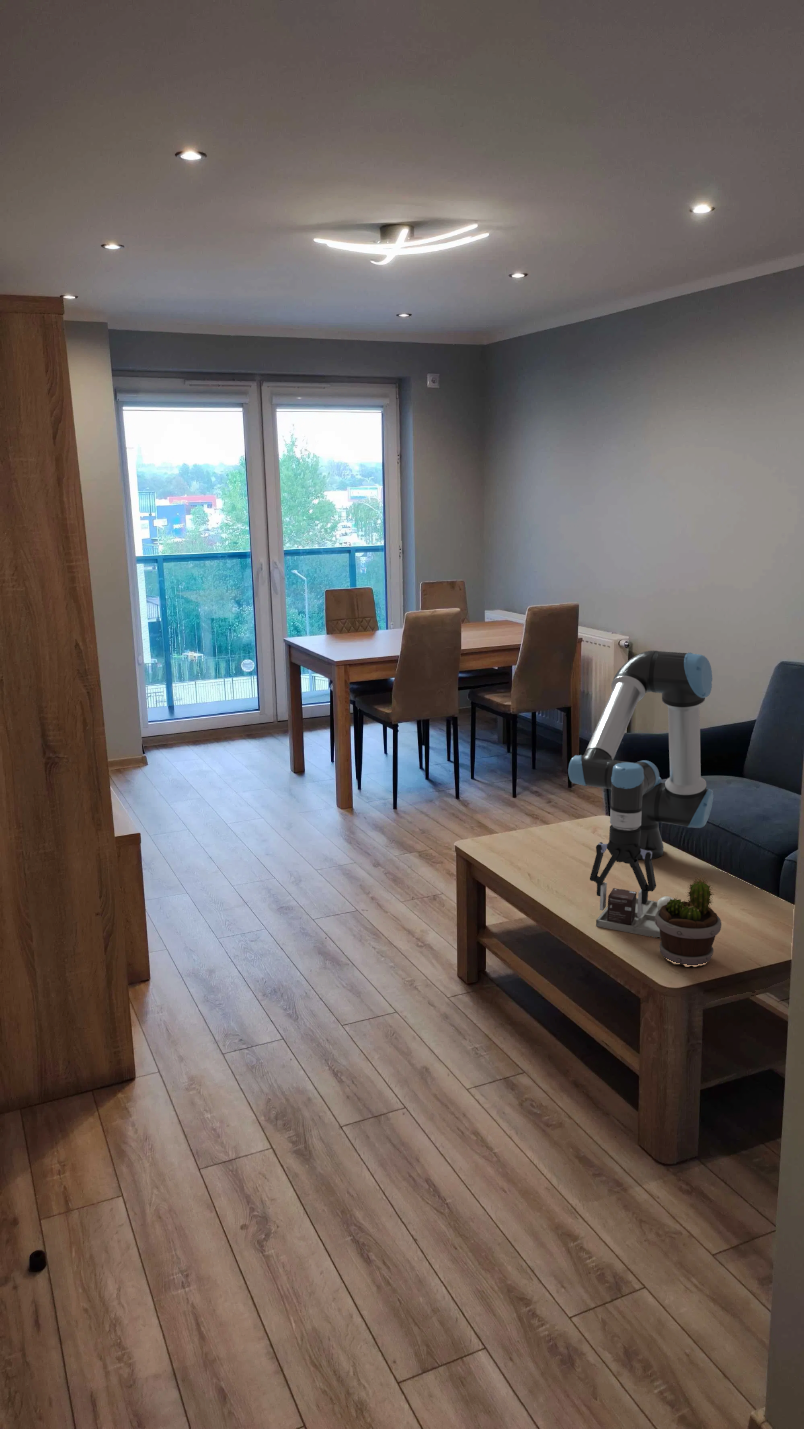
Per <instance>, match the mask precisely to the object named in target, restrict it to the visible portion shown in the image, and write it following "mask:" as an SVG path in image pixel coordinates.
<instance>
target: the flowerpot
mask: <svg viewBox="0 0 804 1429" xmlns="http://www.w3.org/2000/svg"><path fill="white" fill-rule="evenodd" d="M705 879H706V877H705V876H704V877H703V874H701V875H700V876H698V877H695V878H694V880H693V881H692V882H691V883H689V884H688V883H687V888H688V890H686V891H687V892H686V894H687V895H686V898H687V897H689V898H687V900H686V899H685V900H683V901H682V898H678V896H675V897H673V899H674V900H672V899H671V898H672V897H671V896H669V898H670V897H671V898H670V901H669V902H667V904H666V905H664V906H662V907H661V909H660V910H658V912H657V913H656V915H655V924H656V926H657V927H658V928H659V929H660V937H661V939H660V942H659V952H660V954H661V955H662V956H663V958H664V957H665V958H667V959H669V960H671V961H673V962H676V963H680V964H687V965H698V964H703V963H706V962H707V963H708V962H709V961H711V960H712V957H713V954H714V947H713V945H714V941H715V939H716V936H717V935H718V934H720V932H721V930H722V920H721V917H720V916H719V915H718V914H717V913H716V912H715V911H714V910H713V909H712V907H711V905H713V899H714V898H713V896H714V891H712V890H713V886H712V885H711V884H709V883H708V881H706V880H705ZM712 898H713V899H712ZM665 958H664V959H665Z"/></svg>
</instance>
